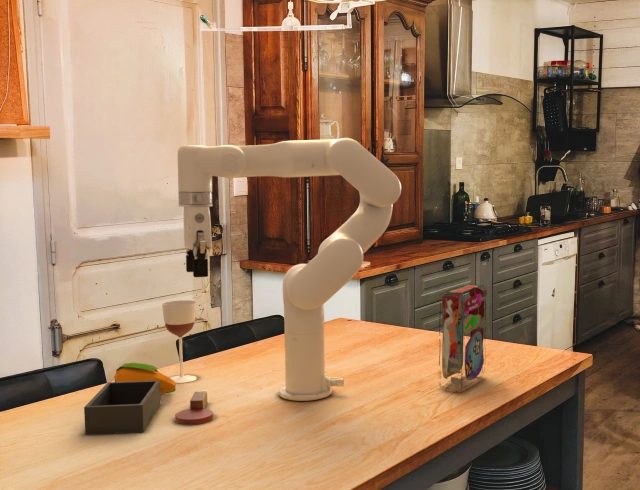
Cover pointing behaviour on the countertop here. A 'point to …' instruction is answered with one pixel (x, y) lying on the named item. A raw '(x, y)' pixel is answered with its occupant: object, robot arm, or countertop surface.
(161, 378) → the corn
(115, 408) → the bin
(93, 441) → the countertop surface
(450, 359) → the box
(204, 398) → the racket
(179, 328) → the wineglass
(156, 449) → the countertop surface
